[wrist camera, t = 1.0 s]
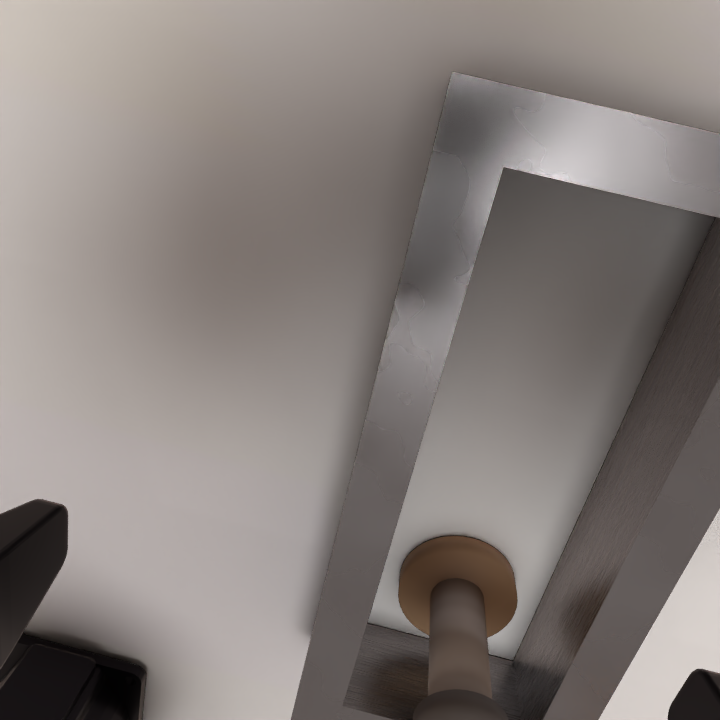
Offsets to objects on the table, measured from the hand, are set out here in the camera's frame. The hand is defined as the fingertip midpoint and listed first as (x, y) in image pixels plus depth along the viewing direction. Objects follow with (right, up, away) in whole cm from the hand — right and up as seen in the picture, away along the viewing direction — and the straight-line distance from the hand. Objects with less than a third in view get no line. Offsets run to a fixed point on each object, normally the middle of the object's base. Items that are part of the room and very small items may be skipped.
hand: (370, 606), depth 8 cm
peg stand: (+3, -4, +13) cm, 14 cm away
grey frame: (+4, +1, +11) cm, 11 cm away
